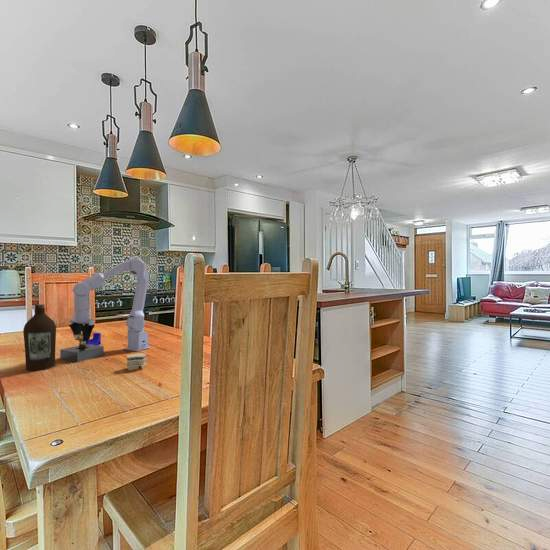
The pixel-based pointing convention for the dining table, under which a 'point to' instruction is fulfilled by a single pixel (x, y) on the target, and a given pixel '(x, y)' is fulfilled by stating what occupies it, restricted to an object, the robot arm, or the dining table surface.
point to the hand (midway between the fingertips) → (82, 340)
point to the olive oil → (39, 340)
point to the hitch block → (81, 352)
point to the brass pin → (80, 340)
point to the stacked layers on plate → (135, 361)
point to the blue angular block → (95, 339)
